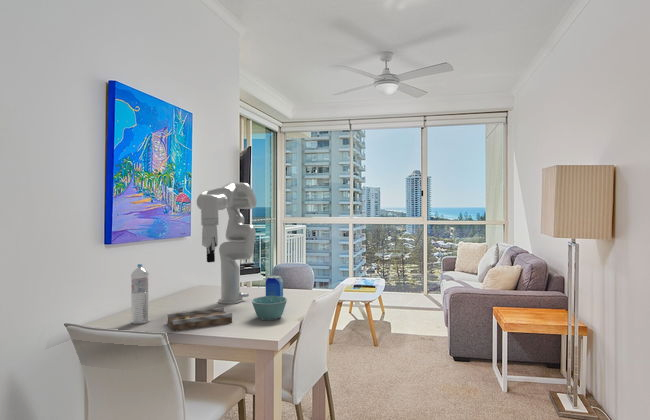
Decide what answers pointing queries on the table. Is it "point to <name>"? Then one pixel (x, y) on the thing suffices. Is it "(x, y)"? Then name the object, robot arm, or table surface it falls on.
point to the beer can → (274, 286)
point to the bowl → (269, 307)
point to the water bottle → (139, 296)
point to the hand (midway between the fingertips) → (210, 261)
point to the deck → (199, 318)
